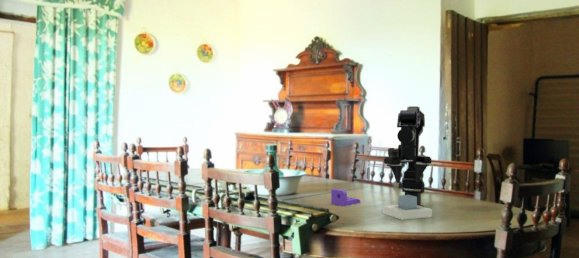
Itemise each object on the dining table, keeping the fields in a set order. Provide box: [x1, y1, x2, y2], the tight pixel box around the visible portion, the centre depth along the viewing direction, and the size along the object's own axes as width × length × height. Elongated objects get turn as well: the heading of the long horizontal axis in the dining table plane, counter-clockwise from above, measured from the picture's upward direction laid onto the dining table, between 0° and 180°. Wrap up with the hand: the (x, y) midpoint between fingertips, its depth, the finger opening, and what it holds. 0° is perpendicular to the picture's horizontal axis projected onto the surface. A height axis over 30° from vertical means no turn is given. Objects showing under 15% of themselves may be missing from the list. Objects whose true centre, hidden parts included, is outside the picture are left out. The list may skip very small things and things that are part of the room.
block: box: [397, 194, 417, 210], centre depth 181 cm, size 5×5×7 cm
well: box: [382, 204, 433, 221], centre depth 181 cm, size 14×12×3 cm
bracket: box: [330, 188, 361, 207], centre depth 205 cm, size 12×7×7 cm, turn 136°
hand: (407, 182), depth 181 cm, fingers open, 9 cm apart
